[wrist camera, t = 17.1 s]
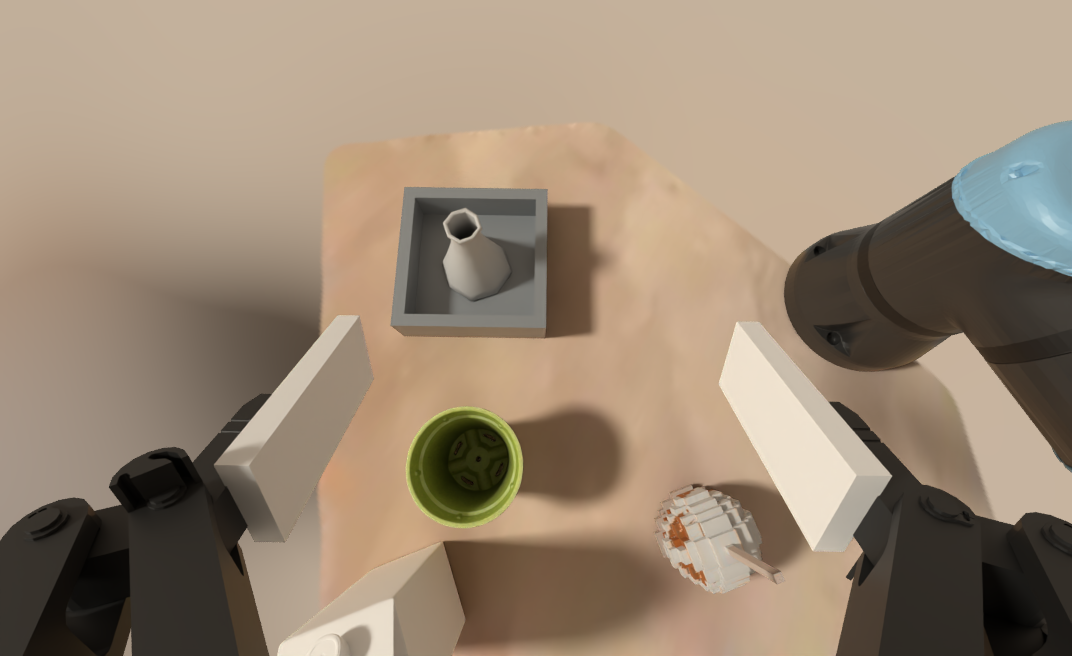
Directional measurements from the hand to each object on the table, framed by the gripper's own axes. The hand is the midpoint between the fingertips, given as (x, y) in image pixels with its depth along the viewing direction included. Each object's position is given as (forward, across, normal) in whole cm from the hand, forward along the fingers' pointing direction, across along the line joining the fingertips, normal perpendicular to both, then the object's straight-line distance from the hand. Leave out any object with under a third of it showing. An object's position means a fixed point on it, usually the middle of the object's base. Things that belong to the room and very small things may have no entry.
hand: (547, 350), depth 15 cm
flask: (+31, -7, -10) cm, 33 cm away
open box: (+31, -7, -11) cm, 34 cm away
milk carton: (+9, -11, -33) cm, 36 cm away
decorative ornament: (+13, +15, -29) cm, 35 cm away
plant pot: (+17, -6, -25) cm, 31 cm away
